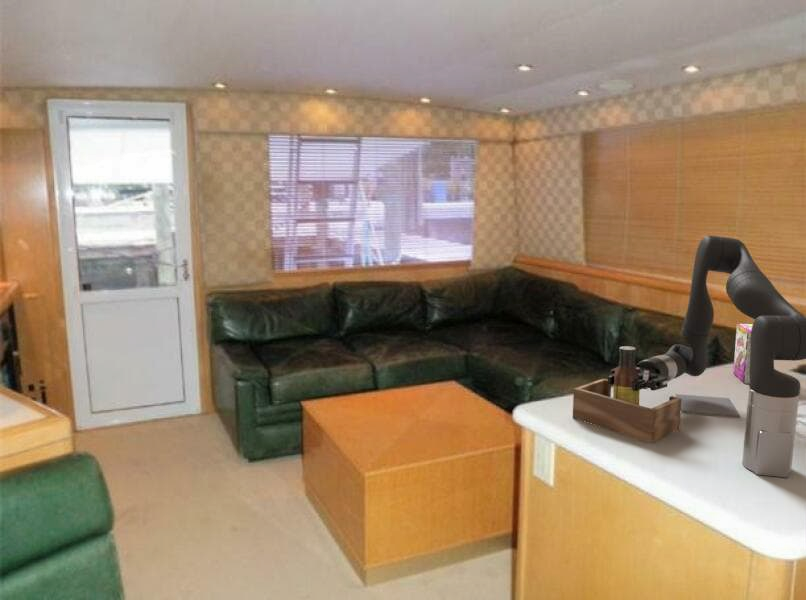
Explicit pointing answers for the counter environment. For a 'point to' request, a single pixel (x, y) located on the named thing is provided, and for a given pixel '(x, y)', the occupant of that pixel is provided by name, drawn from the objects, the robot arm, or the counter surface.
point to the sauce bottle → (626, 376)
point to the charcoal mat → (707, 405)
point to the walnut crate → (625, 413)
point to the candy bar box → (742, 352)
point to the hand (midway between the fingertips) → (621, 383)
